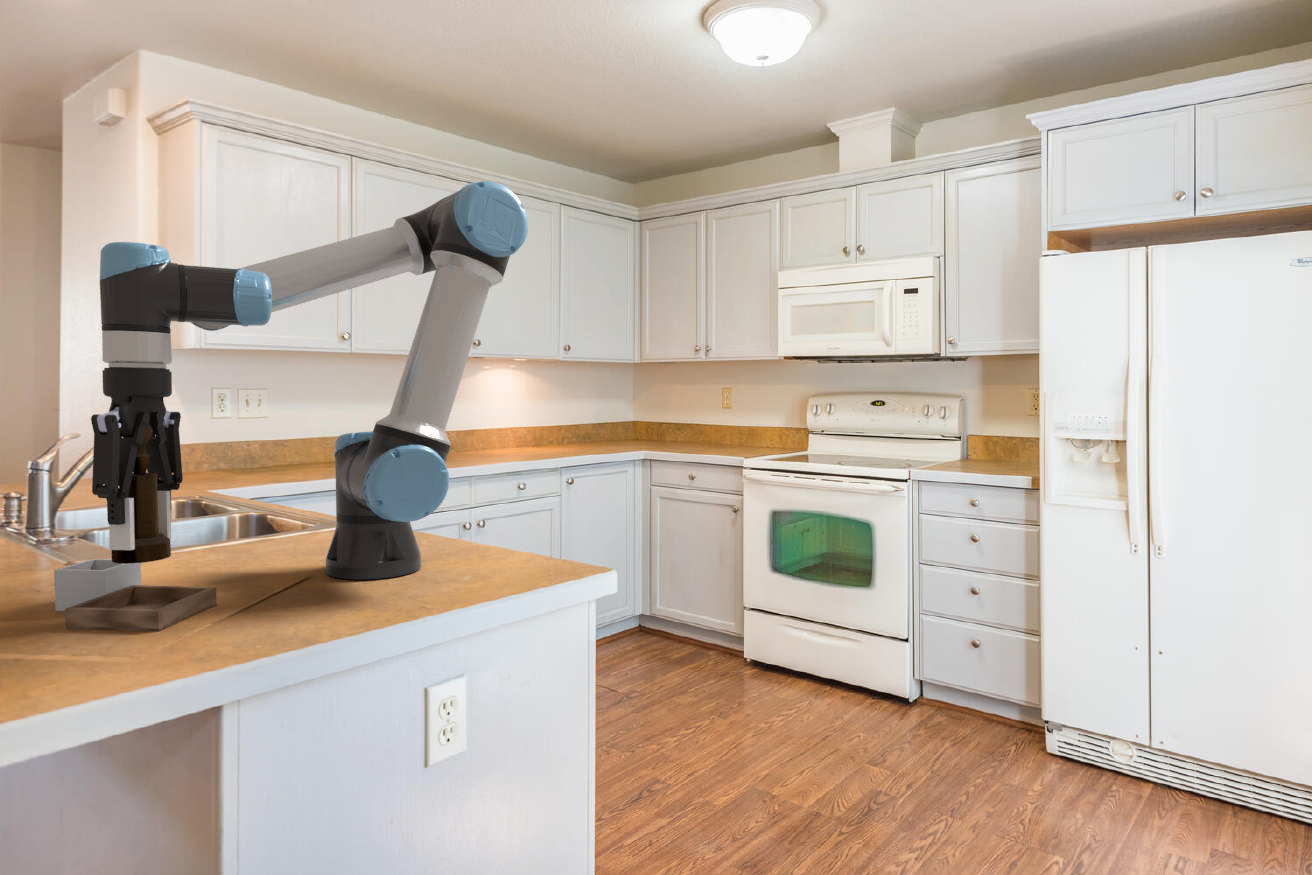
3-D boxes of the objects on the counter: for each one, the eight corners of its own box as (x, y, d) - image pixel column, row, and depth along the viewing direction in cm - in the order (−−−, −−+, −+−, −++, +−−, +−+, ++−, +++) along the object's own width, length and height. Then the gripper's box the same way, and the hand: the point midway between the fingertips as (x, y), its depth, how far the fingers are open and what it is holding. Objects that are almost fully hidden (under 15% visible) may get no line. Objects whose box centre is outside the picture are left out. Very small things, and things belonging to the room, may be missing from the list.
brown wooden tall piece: (129, 553, 110) (126, 419, 108) (180, 553, 110) (177, 420, 109) (100, 564, 103) (96, 421, 102) (154, 564, 103) (151, 422, 102)
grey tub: (141, 601, 116) (140, 559, 116) (105, 615, 109) (104, 571, 109) (94, 600, 116) (93, 558, 116) (55, 614, 109) (54, 569, 109)
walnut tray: (216, 608, 113) (216, 587, 113) (159, 635, 101) (158, 611, 101) (133, 606, 113) (132, 585, 113) (65, 632, 101) (65, 608, 101)
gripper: (159, 367, 115) (162, 530, 116) (49, 363, 96) (55, 558, 97) (210, 368, 114) (213, 531, 116) (111, 364, 95) (116, 560, 97)
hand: (141, 543), depth 106 cm, fingers closed on brown wooden tall piece, 6 cm apart
